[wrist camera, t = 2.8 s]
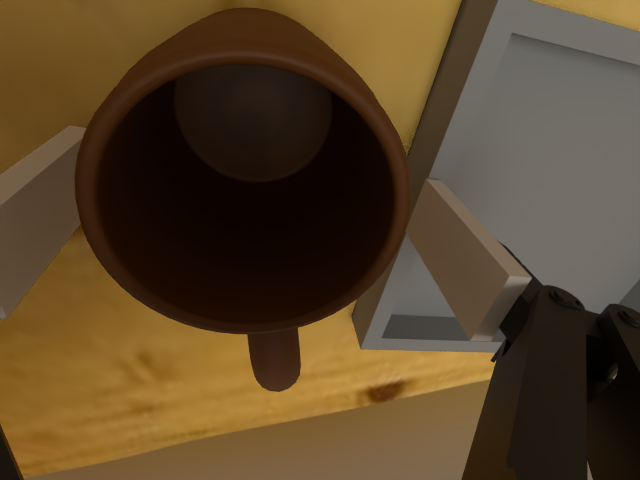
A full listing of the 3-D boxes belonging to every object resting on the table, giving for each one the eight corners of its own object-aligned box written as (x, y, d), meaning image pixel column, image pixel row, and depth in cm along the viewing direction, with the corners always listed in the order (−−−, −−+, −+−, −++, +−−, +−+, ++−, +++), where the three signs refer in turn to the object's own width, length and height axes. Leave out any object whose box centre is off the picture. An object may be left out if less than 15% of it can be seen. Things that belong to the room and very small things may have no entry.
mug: (339, 253, 21) (387, 407, 13) (203, 266, 20) (170, 438, 13) (345, 2, 14) (448, 25, 7) (137, 7, 13) (-22, 40, 6)
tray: (351, 317, 24) (360, 349, 22) (465, -9, 14) (501, -8, 12) (596, 328, 29) (623, 355, 27) (807, 85, 19) (876, 98, 17)
